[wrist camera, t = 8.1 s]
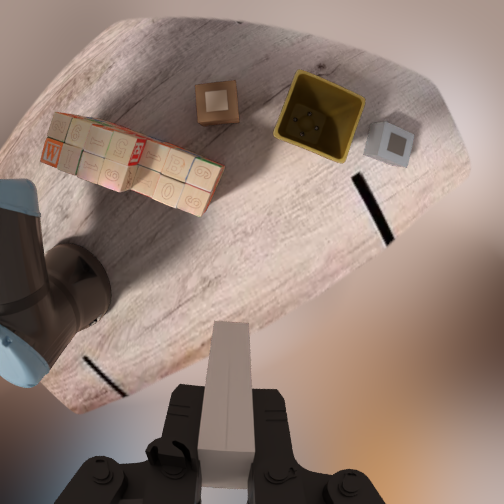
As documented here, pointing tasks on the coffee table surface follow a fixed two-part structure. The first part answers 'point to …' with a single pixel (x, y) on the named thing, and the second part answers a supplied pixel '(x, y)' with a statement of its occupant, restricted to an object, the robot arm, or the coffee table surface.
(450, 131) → the coffee table surface
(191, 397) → the robot arm
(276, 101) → the coffee table surface
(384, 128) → the grey cube marked
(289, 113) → the flower pot
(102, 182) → the stack of blocks
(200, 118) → the walnut cube marked
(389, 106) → the coffee table surface
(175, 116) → the coffee table surface
